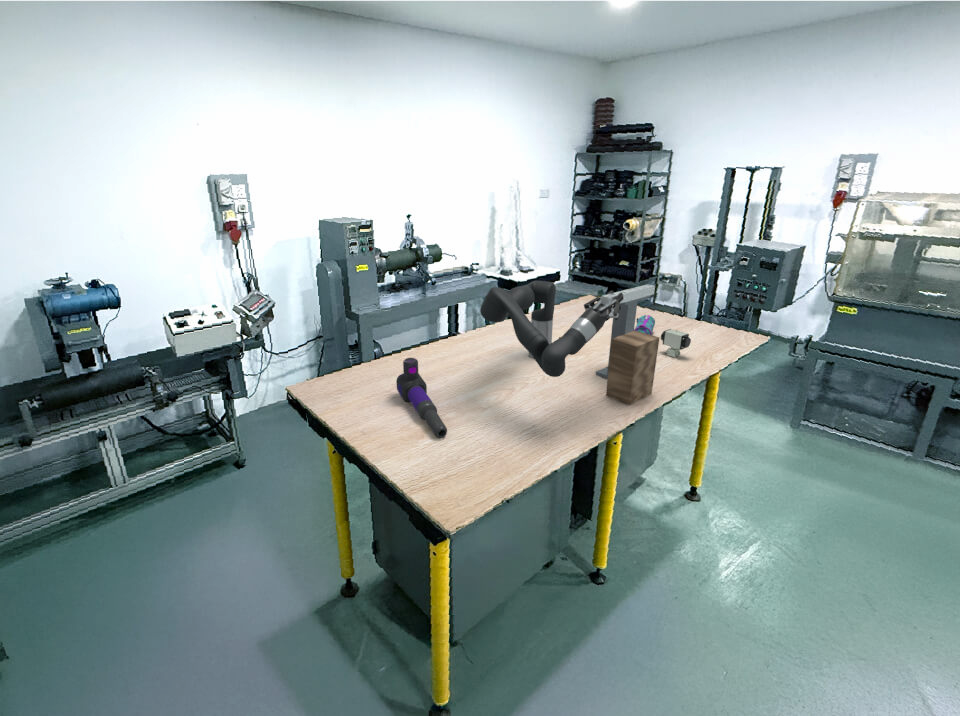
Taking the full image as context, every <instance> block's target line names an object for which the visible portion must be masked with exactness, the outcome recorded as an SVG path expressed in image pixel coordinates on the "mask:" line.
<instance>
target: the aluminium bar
mask: <svg viewBox="0 0 960 716" xmlns="http://www.w3.org/2000/svg"><path fill="white" fill-rule="evenodd" d="M655 288H656V285H652V284H648V283H647V284H644V285H639V286H636V287H632V288H631V287H630V288H627V289H624V290H621V291H620V290H619V291H616V292H615V291H614V293H611V294H607V295H606V294H603V295H601V296H600V298H601V304H602V305H604V306H605V305H606V304H607V303H611V302H612V301H613V300H614V299H615V298H616V296H617V295H618V294H619V293H623V298H624V299H623V300H622V301H621V302H620V303H624V302H627V301H631V300H635V299H638V298H642V297H646V296H650V297H651V296H652V295H655V291H656V290H655ZM613 305H614V304H613ZM613 305H612V306H613Z"/></svg>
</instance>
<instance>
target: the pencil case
mask: <svg viewBox="0 0 960 716" xmlns="http://www.w3.org/2000/svg"><path fill="white" fill-rule="evenodd" d="M635 323H636V326H634V331H639V332H642V333H646V334H649V335H653V330H654V328H655V326H656V325H655V324H656V320H655V318H654V317H653V316H652V315H650V314H649V315H648V314H644V315H641V316H640V317H639V318H638V317H637V318H636V320H635Z"/></svg>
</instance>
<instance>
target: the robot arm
mask: <svg viewBox="0 0 960 716" xmlns="http://www.w3.org/2000/svg"><path fill="white" fill-rule="evenodd" d="M556 293H557V286H556V284H555V283H554V282H552V281H544V280H533V281H531V282H529V283H528V284H525V285H524V284H523V285H520V286H516V287H512V288H511V289H510V290H508V291H507V290H505V289H503V288H502V287H497V286H493V287H491V288H490V289H489V291H488V292H487V294H486V295H485V297H484V299H483V301H482V304H481V306H480V309H479V310H480V311H479V312H480V315H481V317H482V318H483V319H484V320H486V321H488V322H491V323H501V322H503V321H505V320H506V319H507V318H509V317H510V319H511V322H512V326H513V330H514V334H515V336H516V338H517V340H518V342H519V343H520V344H521V345H522V346H523V347H524V348H525V349H526V351H527V352H528V357H529V358H532V359H534V361H535V362H536V363H537V365H538V367H539V368H540V369H541V371H542V372H543V373H545V374H546V375H547V376H549V377H553V378H558V377H561V376H562V375H563V374H564V372H565V370H566V358H567V356H568V355H569V356H570V355H571V356H573V355H576V354H577V353H578V352H579V351H581V349H582V348H583V347H584V346H585V345H586V344H587V343H589V342H590V341H591V340H592V339H593V338H594V336H596V335H597V333H598V332H599V331H600V330H601V329H602V328H603V327H604V325H605V323H606V322H607V321H609V320H610V319H613V318H615V320H618V319H619V315H620V312H621V305H620V302H621V301H622V300H623V299H624V298H623V293H619V294H618V295H617V296H616V298H615V299H614V300H613V301H612V302H611V303H607V304H606V305H605V306H604V305H602V304H601V296H597V297H595V298H593V299H591V300H590V301H588V302H586V303H584V304H583V308H584V310H585V311H584V312H583V313H582V314H581V315H579V317H578V318H577V319H576V320H575V321H574V322H573V323H572V325H570V327H569V329H567V330H566V331H565V332H564V334H563V335H562V336H560V337H561V338H559V337H558V338H557V339H555V340H554V341H553V325H554V323H553V322H554V319H553V318H554V312H555V302H556V295H557V294H556ZM611 293H615V291H614V290H610V291H608V292H607V294H611ZM607 294H605V295H607ZM534 303H537V304H543V307H541V308H538V309H534V310H532V312H531V317H530V318H531V319H529V318H528V316H527V315H526V313H525V312H524V311H526V310H527V309H530V308H531V307H532V306H533V304H534ZM613 304H614V305H613ZM612 305H613V306H612ZM552 341H553V342H552Z"/></svg>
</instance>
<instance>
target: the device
mask: <svg viewBox="0 0 960 716" xmlns="http://www.w3.org/2000/svg"><path fill="white" fill-rule="evenodd" d="M402 368H403V373H401V374H399V375H398V376H397V378H396V379H395V380H396V390H397V392H398V394H399V395H400V397H401V398H402V400H403V402H404V403H407V404H411V405H412V406H413V408H414V410H415V411H416V413H417V414H418V416H419V417H420V419H421V420H422V421H425V422H426V424H427V426H428V427H429V428H430V430H431V432H432V433H433V434H434V436H435V437H436V438H441V439H442V438H444V437H445V436H446V435H447V433H448V428H447V427H446V425H445V423H444V421H443V419H442V418H441V417H440V415H439V414H438V408H437V406H436V405H435V404H434V402H433V401H432V399H431V398H430V397H429V395H428V394H427V393H428V391H427V384H426V382H425V380H424V379H423V377H422V376H421V375H420V372H419V360H418V359H417V358H416V357H415V358H414V357H407V358H404V359H403V362H402Z"/></svg>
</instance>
